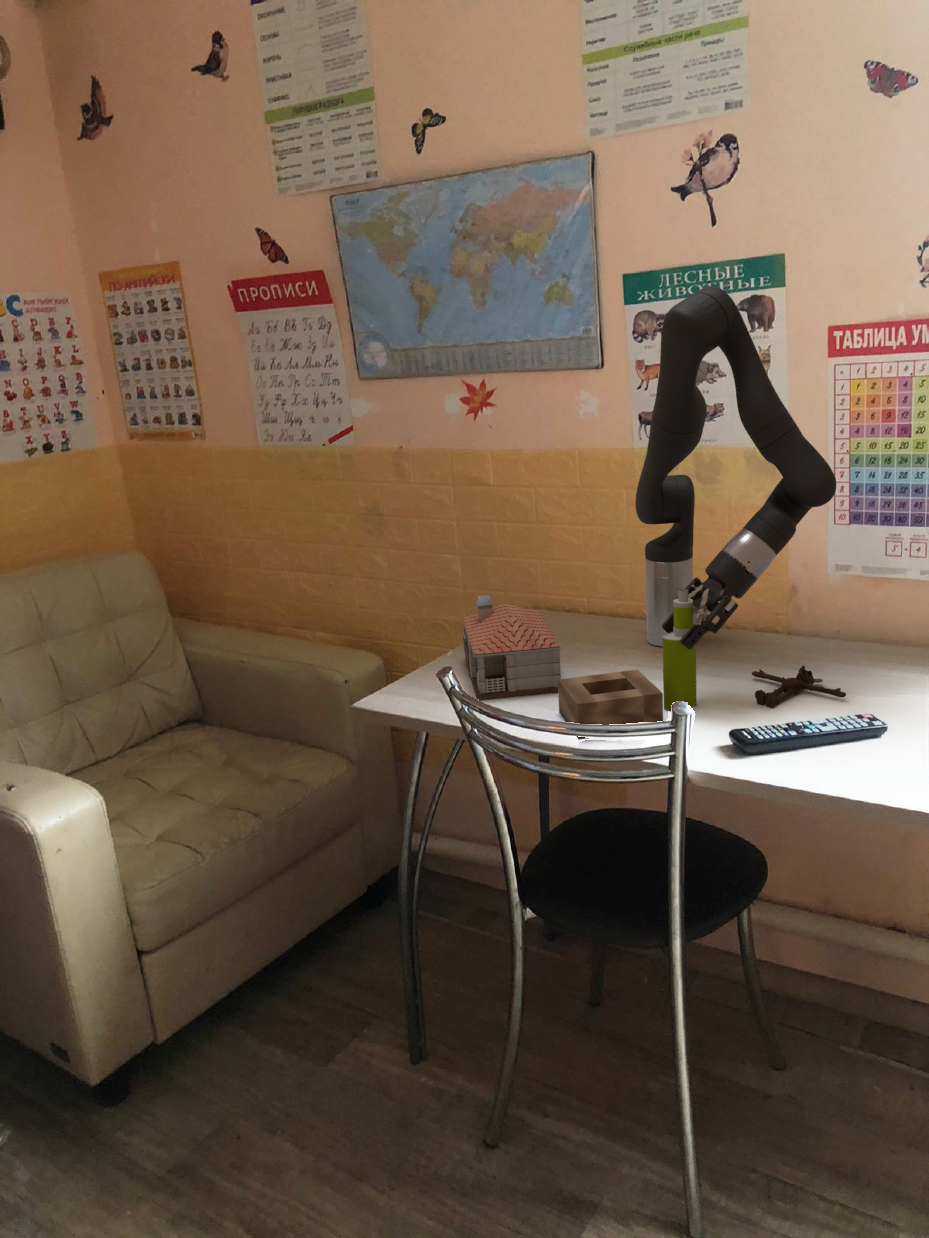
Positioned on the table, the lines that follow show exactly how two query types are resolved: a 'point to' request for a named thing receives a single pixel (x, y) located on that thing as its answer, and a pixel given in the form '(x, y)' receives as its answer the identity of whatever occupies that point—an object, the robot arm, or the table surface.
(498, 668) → the model house
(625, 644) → the table surface
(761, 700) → the brown humanoid figurine
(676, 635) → the vape
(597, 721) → the dock
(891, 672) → the table surface
